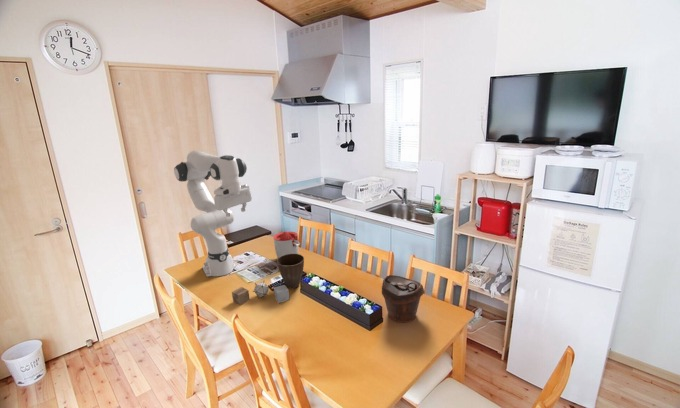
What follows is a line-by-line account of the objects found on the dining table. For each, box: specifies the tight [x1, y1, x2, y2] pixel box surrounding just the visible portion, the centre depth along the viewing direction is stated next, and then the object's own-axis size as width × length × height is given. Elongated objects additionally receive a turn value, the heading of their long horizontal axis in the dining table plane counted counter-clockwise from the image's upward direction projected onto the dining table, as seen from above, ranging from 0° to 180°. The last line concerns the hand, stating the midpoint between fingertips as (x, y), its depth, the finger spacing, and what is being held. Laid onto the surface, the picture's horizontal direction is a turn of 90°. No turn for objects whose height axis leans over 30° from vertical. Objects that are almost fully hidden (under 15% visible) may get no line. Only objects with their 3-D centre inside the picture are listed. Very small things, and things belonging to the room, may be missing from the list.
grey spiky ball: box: [252, 281, 271, 299], centre depth 177 cm, size 9×8×10 cm
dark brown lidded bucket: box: [381, 274, 425, 323], centre depth 154 cm, size 18×20×18 cm
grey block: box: [273, 284, 290, 304], centre depth 174 cm, size 6×6×6 cm
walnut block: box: [231, 286, 251, 306], centre depth 174 cm, size 6×6×6 cm
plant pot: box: [276, 253, 305, 289], centre depth 185 cm, size 15×15×16 cm
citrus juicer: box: [272, 231, 301, 259], centre depth 216 cm, size 16×17×20 cm
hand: (235, 213), depth 172 cm, fingers open, 8 cm apart
